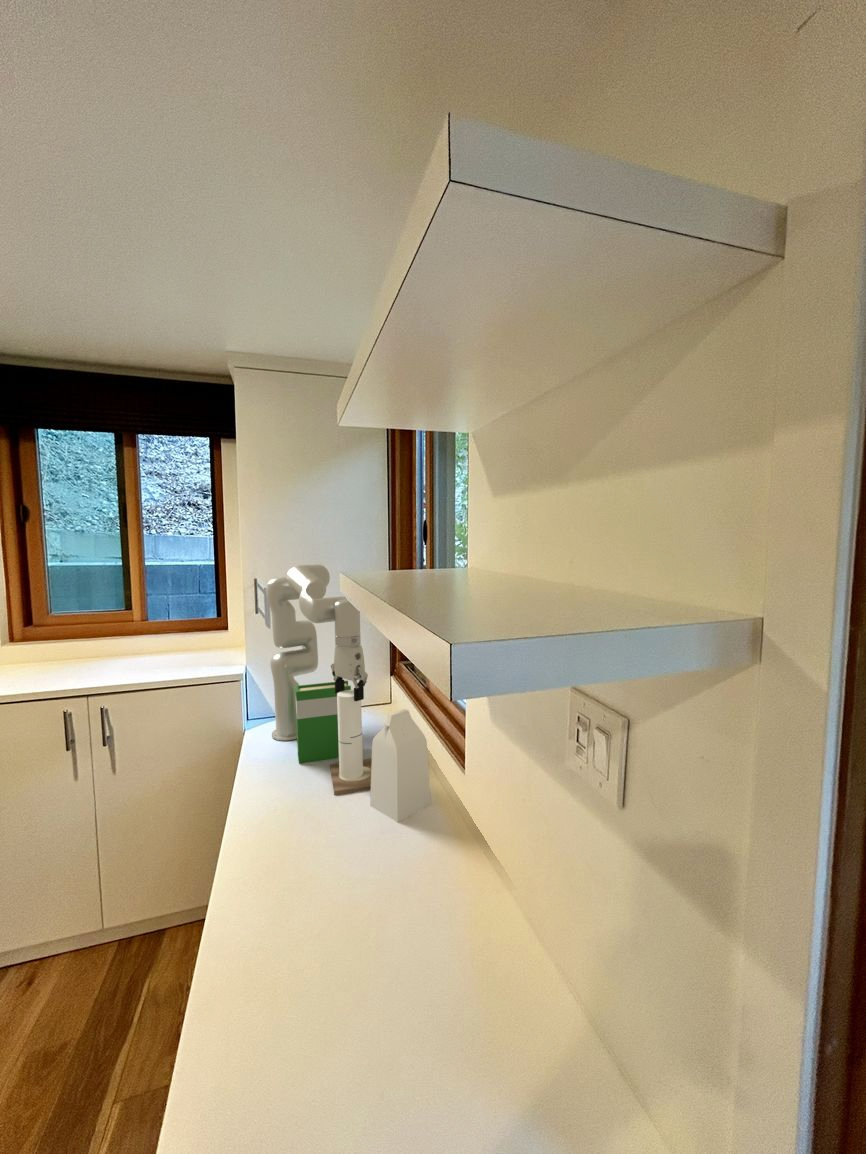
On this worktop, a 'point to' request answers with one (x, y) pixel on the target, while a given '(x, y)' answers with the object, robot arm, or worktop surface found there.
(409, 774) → the milk
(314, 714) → the hardback book
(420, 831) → the worktop surface
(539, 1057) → the worktop surface
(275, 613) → the robot arm
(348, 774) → the cylindrical container
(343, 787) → the walnut board
